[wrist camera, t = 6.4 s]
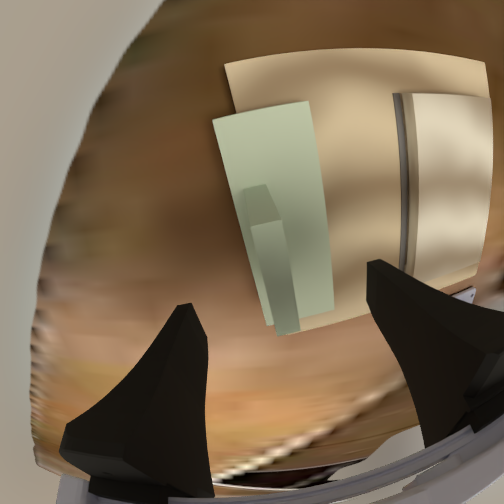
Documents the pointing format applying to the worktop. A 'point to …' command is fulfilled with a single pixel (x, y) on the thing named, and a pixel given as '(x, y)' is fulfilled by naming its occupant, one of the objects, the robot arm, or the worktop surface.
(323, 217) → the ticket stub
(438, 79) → the board
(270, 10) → the worktop surface
